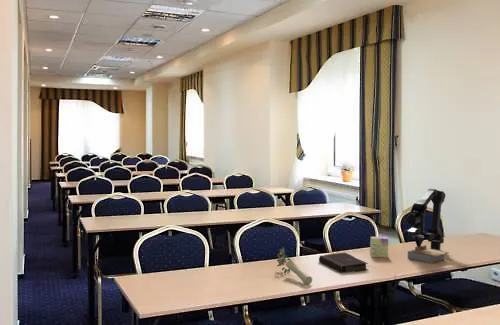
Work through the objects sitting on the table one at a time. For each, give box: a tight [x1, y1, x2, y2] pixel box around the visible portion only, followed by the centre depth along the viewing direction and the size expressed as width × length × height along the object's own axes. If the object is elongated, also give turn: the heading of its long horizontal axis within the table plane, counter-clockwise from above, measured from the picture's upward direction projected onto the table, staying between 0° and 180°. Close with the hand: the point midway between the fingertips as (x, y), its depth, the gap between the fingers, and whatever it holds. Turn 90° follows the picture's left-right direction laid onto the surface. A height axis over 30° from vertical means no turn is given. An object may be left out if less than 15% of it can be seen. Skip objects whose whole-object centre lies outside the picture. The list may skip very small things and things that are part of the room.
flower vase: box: [276, 246, 313, 286], centre depth 277 cm, size 12×12×35 cm
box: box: [369, 236, 389, 258], centre depth 322 cm, size 10×6×12 cm, turn 84°
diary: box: [318, 252, 369, 274], centre depth 298 cm, size 19×25×5 cm
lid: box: [411, 244, 450, 257], centre depth 313 cm, size 14×16×3 cm
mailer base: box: [407, 249, 445, 265], centre depth 316 cm, size 14×16×4 cm
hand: (418, 247), depth 320 cm, fingers closed
